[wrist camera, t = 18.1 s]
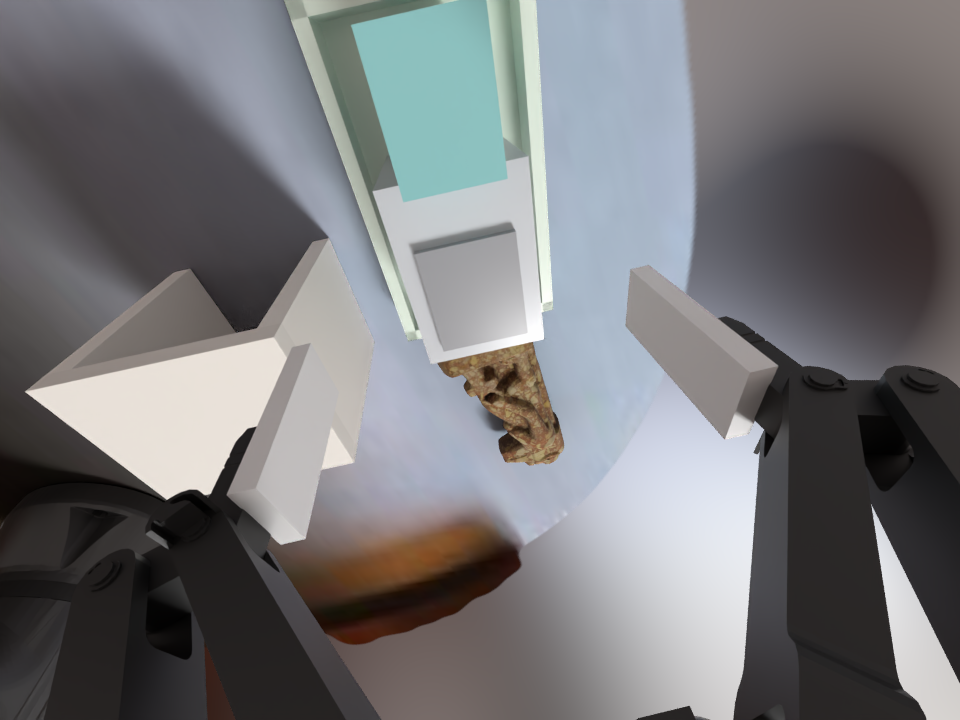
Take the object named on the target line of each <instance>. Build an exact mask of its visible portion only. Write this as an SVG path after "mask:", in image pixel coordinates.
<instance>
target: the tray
mask: <svg viewBox="0 0 960 720" xmlns="http://www.w3.org/2000/svg"><path fill="white" fill-rule="evenodd" d="M452 1H457V0H284V3H285V5H286V8H287V11H288V13H289V16H290V19H291V22H292V24H293V27H294V30H295V33H296V35H297V38H298V41H299V44H300V46H301V49H302V52H303V55H304V57H305V60H306V63H307V65H308V68H309V71H310V74H311V76H312V79H313V82H314V85H315V87H316V90H317V93H318V96H319V98H320V101H321V104H322V107H323V109H324V112H325V115H326V118H327V120H328V123H329V126H330V128H331V131H332V134H333V137H334V139H335V142H336V145H337V148H338V150H339V153H340V156H341V159H342V161H343V164H344V167H345V170H346V172H347V175H348V178H349V181H350V183H351V186H352V189H353V191H354V194H355V197H356V200H357V202H358V205H359V208H360V211H361V213H362V216H363V219H364V222H365V224H366V227H367V230H368V233H369V235H370V238H371V241H372V244H373V246H374V249H375V252H376V254H377V257H378V260H379V263H380V265H381V268H382V271H383V274H384V276H385V279H386V282H387V285H388V287H389V290H390V293H391V296H392V298H393V301H394V304H395V307H396V309H397V312H398V315H399V317H400V320H401V323H402V326H403V328H404V331H405V334H406V337H407V339H408V341H412V340H417V339H421V338H422V336H421V333H420V330H419V327H418V324H417V321H416V318H415V315H414V312H413V309H412V306H411V304H410V301H409V298H408V295H407V292H406V289H405V286H404V283H403V280H402V277H401V274H400V271H399V268H398V265H397V262H396V259H395V256H394V254H393V251H392V248H391V245H390V242H389V239H388V236H387V233H386V230H385V227H384V224H383V221H382V218H381V215H380V212H379V209H378V206H377V203H376V201H375V198H374V195H373V192H372V191H373V189H374V186H375V184H376V181H377V179H378V176H379V174H380V172H381V169H382V167H383V164H384V162H385V159H386V157H387V156H389V152H388V149H387V145H386V142H385V139H384V135H383V132H382V128H381V125H380V122H379V118H378V115H377V111H376V108H375V105H374V101H373V98H372V95H371V91H370V88H369V84H368V81H367V78H366V74H365V71H364V67H363V64H362V61H361V57H360V54H359V50H358V47H357V44H356V40H355V37H354V34H353V30H352V27H351V25H353V24H357V23H361V22H366V21H370V20H374V19H379V18H383V17H387V16H392V15H396V14H400V13H405V12H409V11H413V10H418V9H422V8H426V7H431V6H435V5H439V4H444V3H448V2H452ZM486 1H487V9H488V17H489V26H490V34H491V42H492V51H493V59H494V67H495V76H496V84H497V92H498V101H499V109H500V117H501V126H502V134H503V137H504V138H505V139H506V140H508V141H509V142H510V143H512V144H513V145H514V146H516V147H517V148H518V149H520V150H521V151H522V152H524V153H525V154H526V155H528V156H529V167H530V179H531V191H532V203H533V215H534V226H535V238H536V250H537V262H538V274H539V286H540V298H541V309H542V312H545V311H549V310H553V299H552V281H551V263H550V245H549V227H548V209H547V191H546V173H545V155H544V137H543V119H542V101H541V83H540V65H539V47H538V29H537V11H536V0H486Z"/></svg>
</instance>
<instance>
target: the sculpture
mask: <svg viewBox="0 0 960 720" xmlns="http://www.w3.org/2000/svg"><path fill="white" fill-rule="evenodd" d="M438 365H439V367H440V368H441V370H442V371H443V372H444V373H445V374H446V375H447V376H449V377H452V378H453V377H457V376H459V375H463V376H464V377H465V378H466V379H467V381H466V382H465V384H464V389H465V391H466V392H467V394H468V395H469V396H470V397H473V396H476V395H477V396H478V398H479V400H480V401H481V403H482V405H483V406H484V407H485V408H486V409H487V410H488V411H489V412H491V413H492V414H494V415H496V416H497V417H499V418H501V419H503V420H504V421H503V427H504V428H505V429H506V430H507V432H508V433H507V434H506V435H504V436H502V437H501V438H500V439H499V449H500V452H501V454H502V456H503V458H504V460H505V462H507V463H510V462H525V463H527V464H528V465H534V464H540V463H545V464H550V463H552V462H554V461H555V460H556V459H557V458H558V455H559V454H560V453H561V452H562V451H563V449H564V441H563V437H562V433H561V429H560V425H559V421H558V418H557V416H556V414H555V413H554V412H553V411H552V408H551V404H550V401H549V397H548V394H547V391H546V387H545V384H544V381H543V377H542V374H541V370H540V367H539V364H538V361H537V358H536V355H535V350H534V345H533V342H529V343H525V344H520V345H516V346H511V347H507V348H502V349H498V350H493V351H489V352H484V353H480V354H475V355H471V356H466V357H462V358H457V359H453V360H448V361H444V362H439V363H438Z"/></svg>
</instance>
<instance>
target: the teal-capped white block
mask: <svg viewBox="0 0 960 720" xmlns="http://www.w3.org/2000/svg"><path fill="white" fill-rule="evenodd" d="M351 27H352V30H353V34H354V37H355V40H356V44H357V47H358V50H359V54H360V57H361V61H362V64H363V67H364V71H365V74H366V78H367V81H368V84H369V88H370V91H371V95H372V98H373V101H374V105H375V108H376V111H377V115H378V118H379V122H380V125H381V128H382V132H383V135H384V139H385V142H386V145H387V149H388V152H389V156H387V157H386V159H385V162H384V164H383V167H382V169H381V172H380V174H379V176H378V179H377V181H376V184H375V186H374V189H373V191H372V192H373V195H374V198H375V201H376V203H377V206H378V209H379V212H380V215H381V218H382V221H383V224H384V227H385V230H386V233H387V236H388V239H389V242H390V245H391V248H392V251H393V254H394V256H395V259H396V262H397V265H398V268H399V271H400V274H401V277H402V280H403V283H404V286H405V289H406V292H407V295H408V298H409V301H410V304H411V306H412V309H413V312H414V315H415V318H416V321H417V324H418V327H419V330H420V333H421V336H422V339H423V342H424V345H425V348H426V351H427V354H428V357H429V359H430V362H431V364H435V363H439V362H444V361H448V360H453V359H457V358H462V357H466V356H471V355H475V354H480V353H484V352H489V351H493V350H498V349H502V348H507V347H511V346H516V345H520V344H525V343H529V342H534V341H538V340H543V339H544V333H543V321H542V309H541V298H540V286H539V274H538V262H537V250H536V238H535V226H534V215H533V203H532V191H531V179H530V167H529V156H528V155H526V154H525V153H524V152H522V151H521V150H520V149H518V148H517V147H516V146H514V145H513V144H512V143H510V142H509V141H508V140H506V139H505V138H504V137H503V134H502V126H501V117H500V109H499V101H498V92H497V84H496V76H495V67H494V59H493V51H492V42H491V34H490V26H489V17H488V9H487V1H486V0H457V1H452V2H448V3H444V4H439V5H435V6H431V7H426V8H422V9H418V10H413V11H409V12H405V13H400V14H396V15H392V16H387V17H383V18H379V19H374V20H370V21H366V22H361V23H357V24H353V25H351Z"/></svg>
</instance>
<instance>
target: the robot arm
mask: <svg viewBox="0 0 960 720" xmlns="http://www.w3.org/2000/svg"><path fill="white" fill-rule="evenodd" d="M626 327H627V328H628V329H629V331H630V332H631V333H632V334H633V335H634V336H635V337H636V339H637V340H638V341H639V342H640V343H641V344H642V345H643V347H644V348H645V349H646V350H647V351H648V352H649V353H650V355H651V356H652V357H653V358H654V359H655V360H656V361H657V363H658V364H659V365H660V366H661V367H662V368H663V369H664V371H665V372H666V373H667V374H668V375H669V376H670V377H671V378H672V380H673V381H674V382H675V383H676V384H677V385H678V387H679V388H680V389H681V390H682V391H683V392H684V393H685V395H686V396H687V397H688V398H689V399H690V400H691V402H692V403H693V404H694V405H695V406H696V407H697V408H698V410H699V411H700V412H701V413H702V414H703V415H704V416H705V418H707V420H708V421H709V422H710V423H711V424H712V426H713V427H714V428H715V429H716V430H717V431H718V433H719V434H720V435H721V436H722V437H723V438H724V439H725V440H726V439H730V438H734V437H738V436H743V435H747V434H749V433H750V430H751V428H752V426H753V423H754V421H756V422H757V423H758V424H759V425H760V426H761V427H762V428H763V429H764V431H763V434H762V436H761V438H760V440H759V442H758V444H757V446H756V448H755V451H754V453H755V454H758V453H759V451H760V455H759V470H758V483H757V496H756V510H755V523H754V537H753V551H752V565H751V578H750V592H749V606H748V619H747V633H746V646H745V660H744V670H743V675H742V679H741V682H740V685H739V689H738V692H737V697H736V702H735V709H734V719H733V720H926V716H925V714H924V712H923V711H922V709H921V707H920V705H919V703H918V702H917V701H916V700H915V699H914V698H913V697H912V696H910V695H909V694H908V693H907V692H906V691H904V690H903V688H902V686H901V684H900V682H899V679H898V675H897V670H896V664H895V657H894V651H893V644H892V637H891V631H890V625H889V618H888V611H887V605H886V598H885V592H884V585H883V580H882V572H881V566H880V559H879V553H878V546H877V539H876V533H875V526H874V520H873V513H872V507H871V504H872V506H873V508H874V510H875V512H876V514H877V516H878V518H879V520H880V522H881V525H882V527H883V528H884V531H885V533H886V535H887V536H888V539H889V541H890V543H891V545H892V547H893V549H894V551H895V553H896V555H897V557H898V559H899V561H900V563H901V565H902V567H903V569H904V571H905V573H906V575H907V577H908V579H909V581H910V583H911V585H912V587H913V589H914V591H915V593H916V595H917V597H918V599H919V601H920V604H921V606H922V607H923V610H924V612H925V614H926V616H927V617H928V620H929V622H930V624H931V626H932V628H933V630H934V632H935V634H936V636H937V638H938V640H939V642H940V644H941V646H942V648H943V650H944V652H945V654H946V656H947V658H948V660H949V662H950V664H951V666H952V668H953V670H954V672H955V674H956V676H957V678H958V680H959V682H960V388H959V387H958V386H957V385H956V384H955V383H954V382H952V381H951V380H950V379H948V378H947V377H945V376H943V375H941V374H939V373H937V372H935V371H932V370H929V369H925V368H921V367H914V366H906V365H905V366H894V367H891V368H888V369H887V370H886V371H885V373H884V374H883V376H882V377H881V379H880V380H876V381H875V380H847V379H846V378H845V377H844V376H842V375H840V374H838V373H836V372H834V371H832V370H829V369H825V368H821V367H812V366H805V367H802V366H801V365H800V364H798V363H797V362H796V361H794V360H793V359H791V358H790V357H789V356H787V355H786V354H785V353H783V352H782V351H780V350H779V349H778V348H776V347H775V346H773V345H772V344H771V343H769V342H768V341H765V339H764V338H763V337H761V336H760V335H759V334H755V331H753V330H751V329H750V328H749V327H747V326H746V325H745V324H744V323H742V322H739V321H737V320H734V319H732V318H729V317H721V318H716V317H715V316H714V315H712V314H711V313H710V312H708V311H707V310H706V309H705V308H703V307H702V306H701V305H699V304H698V303H697V302H696V301H694V300H693V299H692V298H690V297H689V296H688V295H687V294H685V293H684V292H683V291H682V290H680V289H679V288H678V287H676V286H675V285H674V284H673V283H671V282H670V281H669V280H667V279H666V278H665V277H664V276H662V275H661V274H660V273H658V272H657V271H656V270H655V269H653V268H652V267H651V266H649V265H647V266H643V267H639V268H634V269H630V280H629V292H628V303H627V314H626ZM338 395H339V391H338V390H337V388H336V386H335V384H334V383H333V381H332V379H331V377H330V376H329V374H328V372H327V370H326V369H325V367H324V365H323V363H322V362H321V360H320V358H319V356H318V354H317V353H316V351H315V349H314V347H313V346H312V344H311V343H308V344H304V345H300V346H295V347H292V348H291V351H290V353H289V355H288V357H287V360H286V362H285V364H284V366H283V369H282V371H281V373H280V376H279V378H278V380H277V382H276V385H275V387H274V389H273V391H272V394H271V396H270V398H269V400H268V403H267V405H266V407H265V409H264V412H263V414H262V416H261V418H260V421H259V423H258V425H257V426H256V427H252V428H248V429H247V430H246V431H245V432H244V433H243V434H242V435H241V436H240V437H239V439H238V440H237V441H236V442H235V444H234V446H233V448H232V450H231V452H230V455H229V456H230V457H229V458H228V459H227V461H226V463H225V465H224V469H222V471H221V473H220V475H219V477H218V479H217V481H216V484H215V486H214V488H213V490H212V492H211V494H210V496H209V498H207V497H206V496H205V495H204V494H203V493H201V492H200V491H199V490H194V489H189V490H186V491H183V492H180V493H178V494H176V495H174V496H173V497H171V498H169V499H168V500H167V501H165V502H162V501H160V500H158V499H156V498H154V497H151V496H149V495H146V494H143V493H140V492H137V491H134V490H130V489H126V488H122V487H117V486H111V485H104V484H95V483H64V484H56V485H50V486H46V487H42V488H39V489H37V490H34V491H32V492H30V493H29V494H27V495H26V496H25V497H24V498H23V499H22V500H21V501H20V502H19V503H18V504H17V505H16V506H15V508H14V509H13V510H12V511H11V512H10V513H9V514H8V515H7V516H6V518H5V519H4V521H3V523H2V525H1V527H0V720H207V701H206V679H205V656H204V640H205V643H206V645H207V648H208V650H209V653H210V655H211V658H212V660H213V663H214V666H215V668H216V671H217V673H218V676H219V678H220V681H221V683H222V686H223V688H224V691H225V693H226V696H227V699H228V701H229V703H230V706H231V709H232V711H233V714H234V716H235V719H236V720H381V719H380V717H379V715H378V714H377V712H376V711H375V709H374V708H373V706H372V705H371V703H370V702H369V700H368V699H367V697H366V696H365V694H364V693H363V691H362V689H361V688H360V686H359V685H358V683H357V682H356V680H355V679H354V677H353V676H352V674H351V673H350V671H349V670H348V668H347V667H346V665H345V664H344V662H343V661H342V659H341V658H340V656H339V655H338V653H337V651H336V650H335V648H334V647H333V645H332V644H331V642H330V641H329V639H328V638H327V636H326V635H325V633H324V632H323V630H322V629H321V627H320V625H319V624H318V622H317V621H316V619H315V618H314V616H313V615H312V613H311V612H310V610H309V609H308V607H307V606H306V604H305V603H304V601H303V600H302V598H301V597H300V595H299V593H298V592H297V590H296V589H295V587H294V586H293V584H292V583H291V581H290V580H289V578H288V577H287V575H286V574H285V572H284V571H283V569H282V568H281V566H280V565H279V563H278V561H277V560H276V558H275V557H274V555H273V554H272V553H271V552H270V551H269V550H268V549H267V546H268V542H269V539H270V536H272V537H273V538H274V539H275V540H276V541H277V542H278V543H279V544H280V545H282V544H286V543H290V542H294V541H298V540H303V539H306V534H307V530H308V526H309V521H310V517H311V513H312V508H313V504H314V500H315V495H316V491H317V486H318V482H319V478H320V473H321V469H322V465H323V460H324V456H325V451H326V447H327V443H328V438H329V434H330V430H331V425H332V421H333V417H334V412H335V408H336V403H337V399H338ZM637 720H709V719H706V718H702V717H697V716H694V715H693V712H692V710H691V708H690V706H687V707H683V708H679V709H675V710H671V711H667V712H663V713H658V714H654V715H650V716H646V717H642V718H638V719H637Z"/></svg>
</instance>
